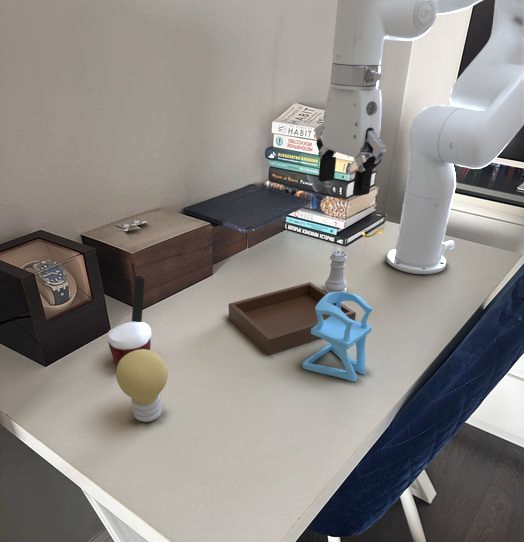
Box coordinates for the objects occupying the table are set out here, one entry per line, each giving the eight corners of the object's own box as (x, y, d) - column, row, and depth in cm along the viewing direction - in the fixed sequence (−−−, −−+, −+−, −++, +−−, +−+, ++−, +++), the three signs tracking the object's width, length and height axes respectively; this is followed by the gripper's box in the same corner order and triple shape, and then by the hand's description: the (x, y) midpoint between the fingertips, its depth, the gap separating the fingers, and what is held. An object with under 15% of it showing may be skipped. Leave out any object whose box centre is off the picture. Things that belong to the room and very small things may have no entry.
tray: (309, 295, 99) (310, 281, 97) (354, 327, 89) (356, 312, 87) (228, 318, 91) (228, 303, 89) (268, 355, 81) (268, 339, 80)
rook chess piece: (347, 287, 102) (352, 249, 97) (344, 297, 98) (349, 259, 94) (325, 284, 103) (329, 247, 98) (321, 294, 99) (325, 256, 95)
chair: (346, 389, 74) (356, 318, 67) (300, 367, 79) (305, 298, 72) (373, 366, 79) (385, 298, 72) (329, 347, 83) (336, 280, 77)
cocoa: (122, 379, 75) (110, 308, 69) (97, 363, 79) (83, 294, 72) (170, 352, 81) (164, 285, 75) (145, 339, 85) (136, 273, 78)
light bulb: (114, 414, 69) (103, 353, 63) (154, 394, 73) (146, 334, 67) (141, 438, 65) (131, 375, 60) (181, 415, 69) (175, 354, 63)
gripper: (411, 82, 76) (392, 197, 85) (339, 72, 88) (330, 173, 97) (373, 84, 72) (358, 203, 82) (303, 73, 85) (297, 178, 94)
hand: (342, 187), depth 89 cm, fingers open, 9 cm apart
